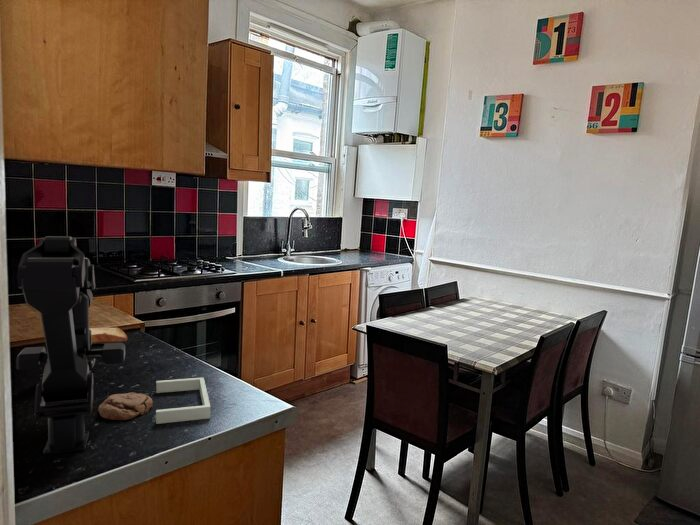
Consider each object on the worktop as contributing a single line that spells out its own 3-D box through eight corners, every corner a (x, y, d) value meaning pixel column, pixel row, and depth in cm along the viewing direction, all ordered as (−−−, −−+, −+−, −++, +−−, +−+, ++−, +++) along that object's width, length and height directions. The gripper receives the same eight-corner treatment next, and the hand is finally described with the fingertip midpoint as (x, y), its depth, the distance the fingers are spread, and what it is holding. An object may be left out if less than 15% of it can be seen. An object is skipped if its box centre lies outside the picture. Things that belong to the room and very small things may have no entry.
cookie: (162, 409, 108) (162, 396, 107) (114, 426, 99) (114, 412, 99) (135, 397, 113) (135, 384, 113) (88, 411, 105) (88, 398, 104)
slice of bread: (43, 340, 149) (43, 328, 149) (103, 329, 164) (103, 318, 163) (72, 354, 139) (71, 341, 138) (133, 341, 153) (133, 329, 152)
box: (210, 418, 104) (210, 406, 104) (156, 423, 100) (156, 412, 100) (203, 387, 120) (203, 377, 119) (156, 391, 116) (156, 381, 116)
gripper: (126, 310, 111) (127, 378, 113) (28, 313, 104) (30, 385, 106) (123, 323, 100) (123, 397, 102) (13, 327, 94) (16, 407, 96)
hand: (74, 396), depth 102 cm, fingers closed
